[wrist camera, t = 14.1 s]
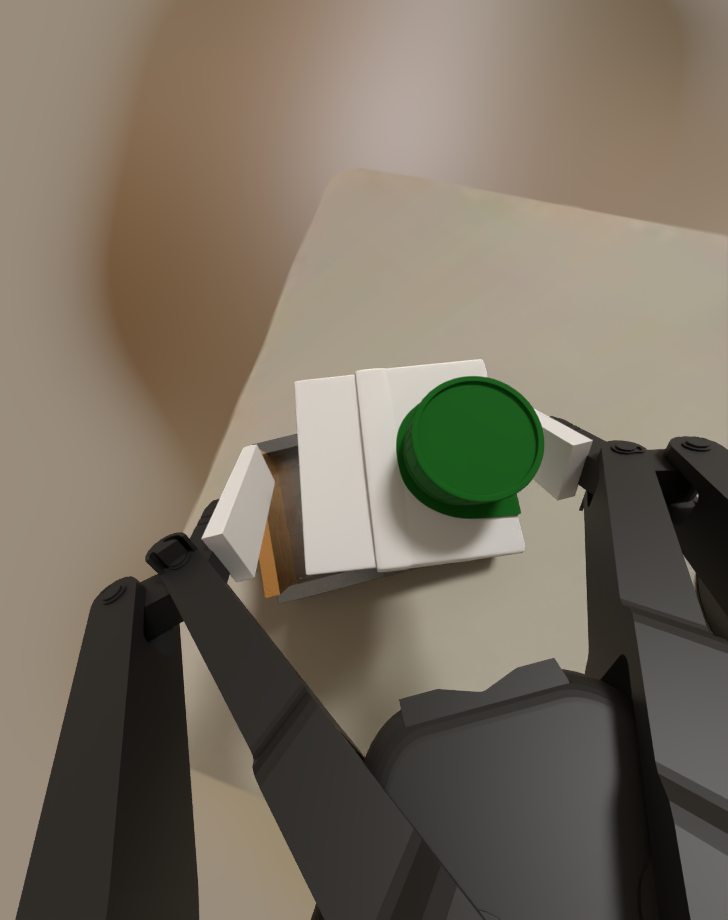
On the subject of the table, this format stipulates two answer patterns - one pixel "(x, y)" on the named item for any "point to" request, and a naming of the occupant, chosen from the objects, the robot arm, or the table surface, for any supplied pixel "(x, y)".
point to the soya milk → (412, 466)
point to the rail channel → (294, 533)
